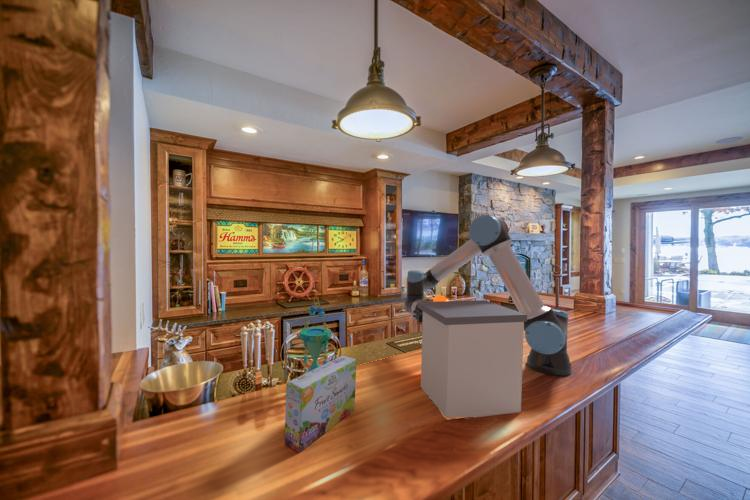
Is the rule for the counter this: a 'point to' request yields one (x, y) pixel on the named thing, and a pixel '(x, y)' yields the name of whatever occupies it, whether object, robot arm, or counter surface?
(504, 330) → the under-counter cabinet
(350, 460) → the counter surface
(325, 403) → the snack box
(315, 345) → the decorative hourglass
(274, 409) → the counter surface
